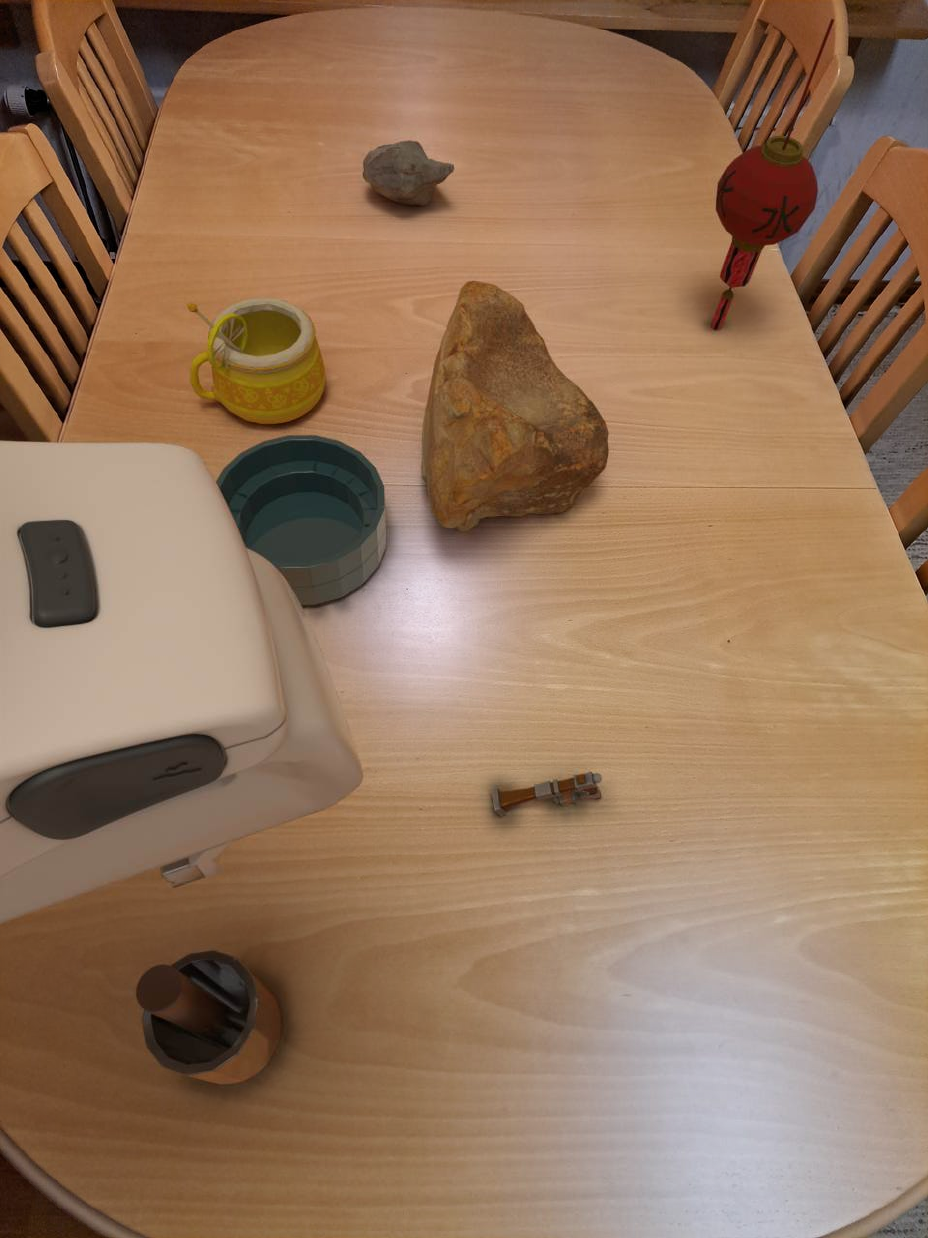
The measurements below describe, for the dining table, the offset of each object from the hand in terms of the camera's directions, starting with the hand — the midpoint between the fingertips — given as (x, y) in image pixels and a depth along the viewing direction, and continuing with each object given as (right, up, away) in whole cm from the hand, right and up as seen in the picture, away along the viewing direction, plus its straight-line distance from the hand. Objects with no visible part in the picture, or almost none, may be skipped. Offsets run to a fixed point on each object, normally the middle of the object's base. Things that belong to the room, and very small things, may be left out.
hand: (35, 912), depth 25 cm
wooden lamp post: (+19, -5, +38) cm, 42 cm away
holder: (-2, -17, +28) cm, 33 cm away
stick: (-2, -17, +28) cm, 33 cm away
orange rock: (+17, +22, +54) cm, 61 cm away
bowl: (-1, +16, +49) cm, 51 cm away
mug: (-7, +31, +58) cm, 66 cm away
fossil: (+6, +60, +77) cm, 97 cm away
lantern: (+41, +41, +68) cm, 89 cm away
